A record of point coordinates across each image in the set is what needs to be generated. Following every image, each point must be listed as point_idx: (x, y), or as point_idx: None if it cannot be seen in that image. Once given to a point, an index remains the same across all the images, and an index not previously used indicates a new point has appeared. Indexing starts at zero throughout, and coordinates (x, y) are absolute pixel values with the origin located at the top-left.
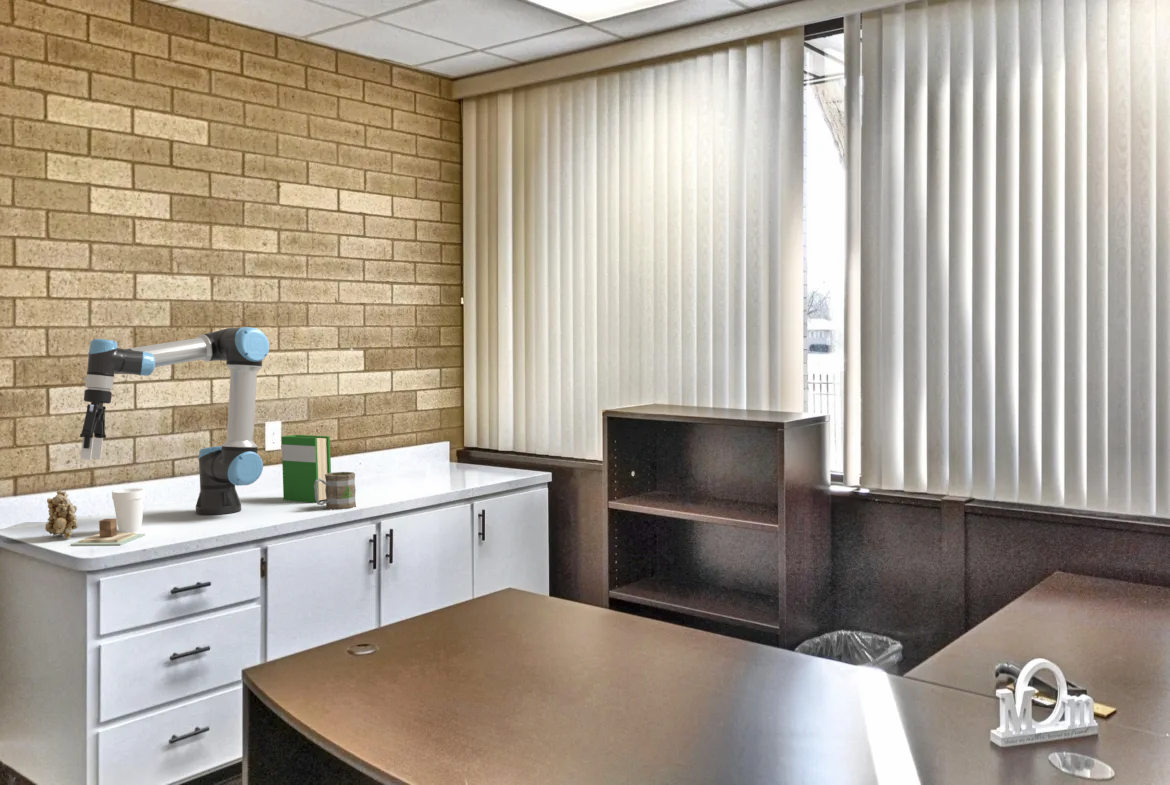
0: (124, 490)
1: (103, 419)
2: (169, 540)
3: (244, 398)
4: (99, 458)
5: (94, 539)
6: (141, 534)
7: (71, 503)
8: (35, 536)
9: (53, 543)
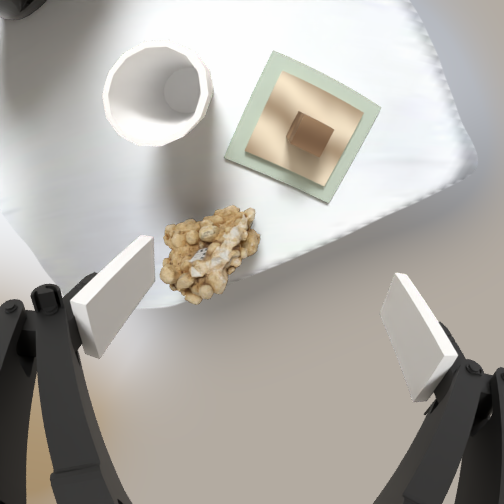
0: (114, 114)
1: (88, 488)
2: (369, 11)
3: None
4: (153, 241)
5: (333, 158)
6: (280, 57)
7: (222, 246)
8: None
9: (277, 235)
